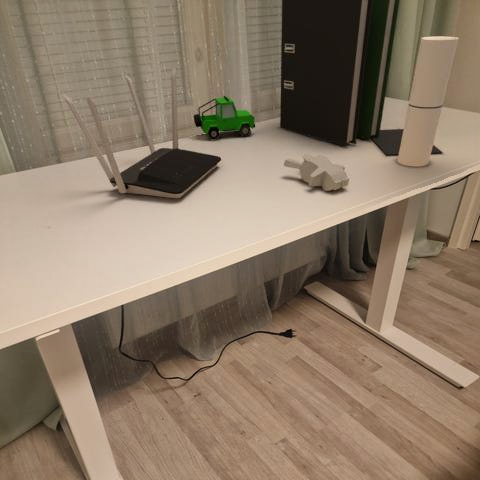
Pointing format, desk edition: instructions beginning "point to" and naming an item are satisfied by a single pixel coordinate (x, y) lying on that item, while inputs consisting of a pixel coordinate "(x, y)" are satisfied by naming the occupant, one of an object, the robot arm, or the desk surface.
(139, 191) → the wireless router
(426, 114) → the cylindrical container
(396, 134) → the mat
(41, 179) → the desk surface
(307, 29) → the ring binders
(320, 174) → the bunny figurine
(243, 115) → the toy car
